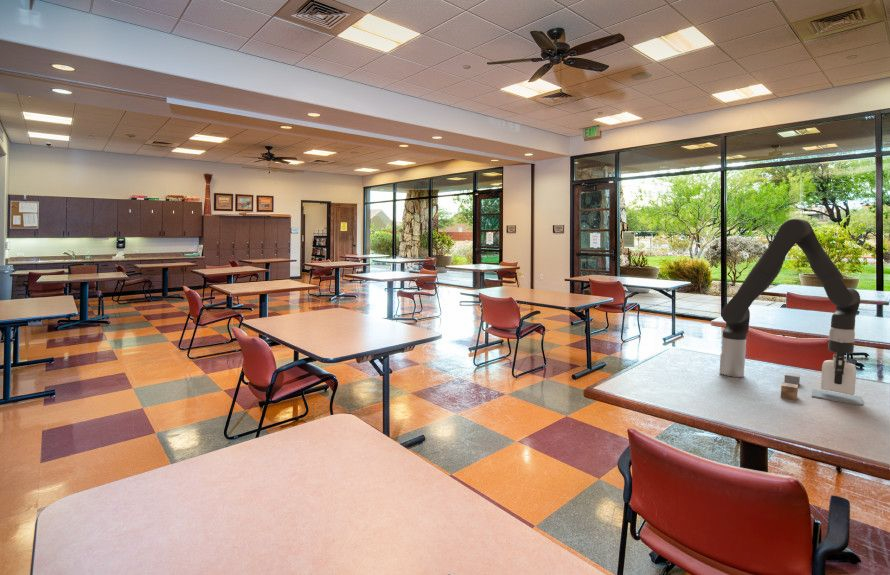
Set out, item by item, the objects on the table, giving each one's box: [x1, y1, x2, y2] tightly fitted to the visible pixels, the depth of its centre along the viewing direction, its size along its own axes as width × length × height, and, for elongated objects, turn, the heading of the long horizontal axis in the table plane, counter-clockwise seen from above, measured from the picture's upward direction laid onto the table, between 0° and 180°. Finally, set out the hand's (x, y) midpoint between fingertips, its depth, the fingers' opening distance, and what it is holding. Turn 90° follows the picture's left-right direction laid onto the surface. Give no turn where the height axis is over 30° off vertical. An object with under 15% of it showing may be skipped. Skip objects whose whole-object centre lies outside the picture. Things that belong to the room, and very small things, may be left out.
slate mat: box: [811, 388, 864, 406], centre depth 180 cm, size 15×10×1 cm, turn 51°
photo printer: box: [820, 359, 857, 396], centre depth 179 cm, size 10×4×12 cm, turn 40°
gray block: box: [783, 372, 801, 387], centre depth 197 cm, size 5×4×4 cm
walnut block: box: [780, 381, 799, 401], centre depth 181 cm, size 5×5×5 cm
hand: (837, 381), depth 179 cm, fingers closed on photo printer, 4 cm apart
